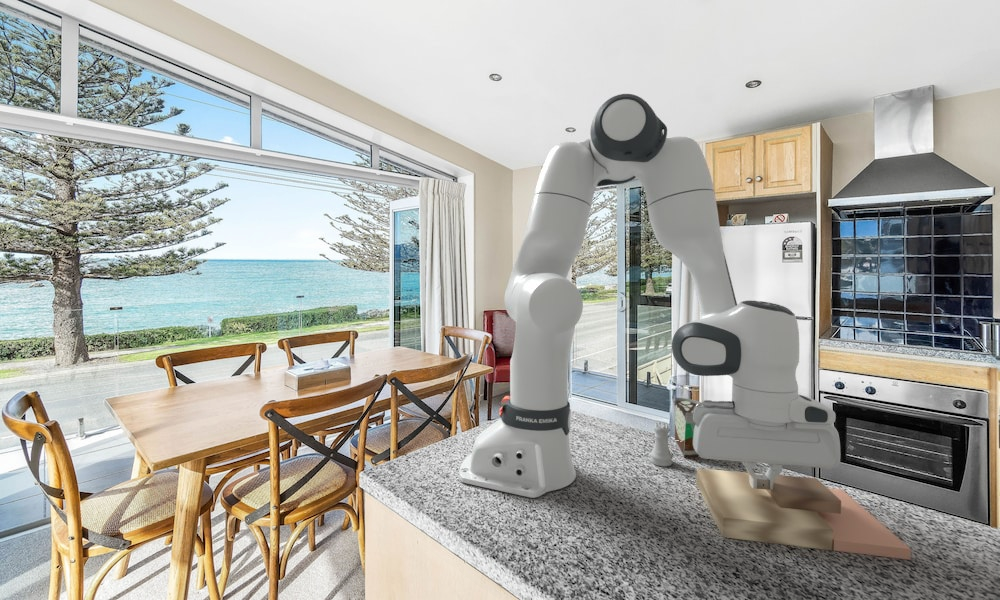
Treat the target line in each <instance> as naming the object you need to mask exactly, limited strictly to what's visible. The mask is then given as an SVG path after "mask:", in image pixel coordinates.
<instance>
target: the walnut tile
mask: <svg viewBox="0 0 1000 600" xmlns="http://www.w3.org/2000/svg"><path fill="white" fill-rule="evenodd" d="M762 474H763V475H765V473H762ZM828 488H829V487H827V486H826V485H825V484H823V482H822V481H820V480H819V479H818V478H814V477H807V476H806V477H805V476H796V475H795V476H794V475H785V474H779V476H778V477H777V478H776V479H775V480H774V484H773V490H767V492H768V493H769V494H770V495H771V497H772V498H773V499H774V500H775V502H776V503H777V504H778V505H779V507H781V508H790V509H799V510H809V511H818V512H828V513H837V514H841V500H840V499H839V498H838V497H837V496H835V495H834V494H833V493H832V492H831V491H830V490H829V489H828Z"/></svg>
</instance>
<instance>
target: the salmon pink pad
mask: <svg viewBox="0 0 1000 600" xmlns="http://www.w3.org/2000/svg"><path fill="white" fill-rule="evenodd" d="M827 488H828V489H829V490H830V491H831V492H832V493H833V494H834V495H835V496H837V497H838V498H839V499H840V500H841V514H837V513H828V512H818V511H816V512H817V513H818V514H819V515H820V516H821V517H822V518H823V520H824V521H825V522H826V523H827V524H828V525H829V526H830V527H831V528H832V529H833V540H832V551H835V552H842V553H852V554H860V555H868V556H877V557H886V558H892V559H901V560H909V561H910V560H911V556H912V555H911V553H912V549H911V547H909V546H908V545H907V544H906V543H905V542H904V541H902V540H901V539H900V538H899V537H898V536H897V535H895V534H894V533H893V532H892V531H891V530H890V529H888V528H887V527H886V526H885V525H884V524H883V523H882V522H880V521H879V520H878V519H877V518H876V517H875V516H873V515H872V514H871V513H870V512H869V511H867V510H866V509H865V508H864V507H863V506H862V505H860V504H859V502H857V501H856V500H855V499H854V498H853V497H852V496H850V494H849V493H847V492H846V491H845V490H843V489H839V488H829V487H827Z"/></svg>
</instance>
